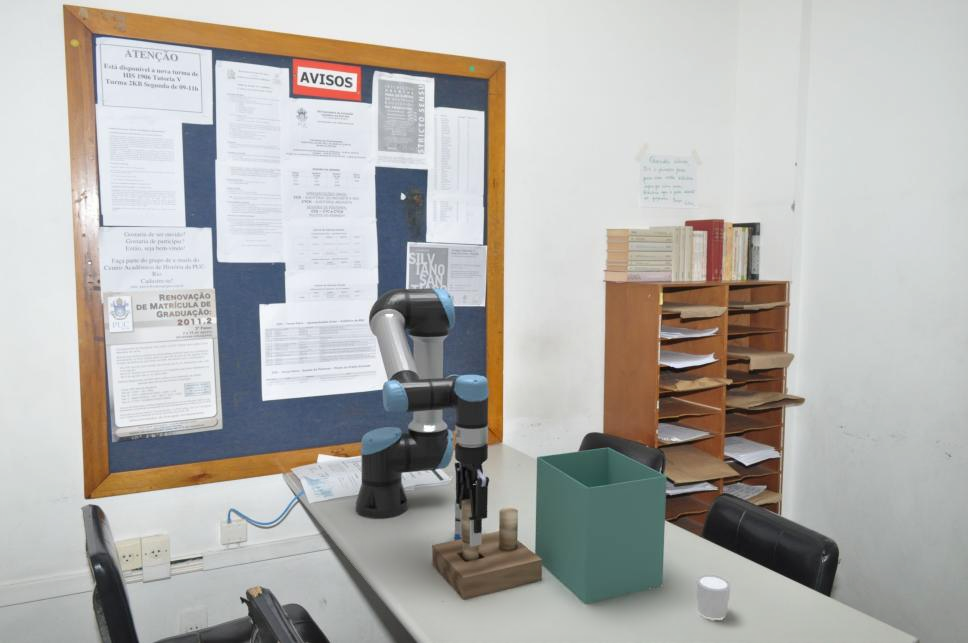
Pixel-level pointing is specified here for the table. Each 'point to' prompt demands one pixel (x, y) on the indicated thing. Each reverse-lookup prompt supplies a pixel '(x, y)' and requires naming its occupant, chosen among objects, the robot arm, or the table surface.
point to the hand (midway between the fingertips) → (470, 540)
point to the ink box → (457, 522)
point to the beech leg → (467, 533)
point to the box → (600, 522)
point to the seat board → (489, 561)
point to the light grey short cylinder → (712, 596)
